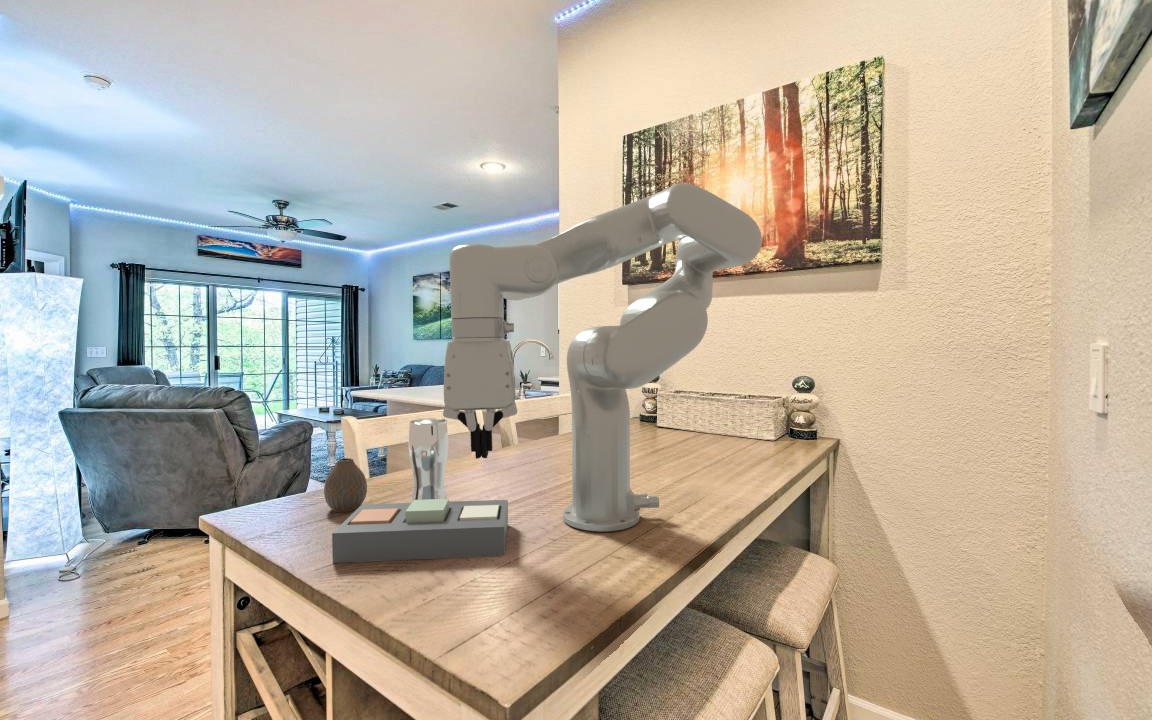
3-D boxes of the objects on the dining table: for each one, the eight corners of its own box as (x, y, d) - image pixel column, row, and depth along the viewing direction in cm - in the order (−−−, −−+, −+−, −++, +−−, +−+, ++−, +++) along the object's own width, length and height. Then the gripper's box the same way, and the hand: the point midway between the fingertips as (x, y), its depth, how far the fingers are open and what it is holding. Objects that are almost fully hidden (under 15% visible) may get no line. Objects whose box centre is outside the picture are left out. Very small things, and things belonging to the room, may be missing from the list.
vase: (351, 516, 86) (350, 464, 85) (315, 513, 87) (314, 463, 87) (375, 503, 92) (374, 455, 92) (341, 501, 94) (340, 454, 94)
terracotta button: (398, 534, 77) (398, 508, 76) (389, 548, 71) (388, 520, 71) (363, 535, 76) (362, 509, 76) (351, 550, 71) (350, 521, 71)
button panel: (507, 524, 81) (507, 499, 81) (504, 555, 70) (504, 526, 69) (362, 529, 79) (361, 504, 79) (332, 563, 67) (332, 533, 67)
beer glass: (421, 495, 97) (420, 417, 97) (455, 497, 96) (454, 418, 95) (401, 507, 90) (400, 423, 90) (438, 509, 89) (436, 424, 88)
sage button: (449, 524, 77) (448, 498, 77) (443, 537, 72) (443, 509, 72) (414, 526, 77) (413, 499, 77) (405, 539, 72) (405, 511, 71)
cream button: (499, 530, 78) (498, 504, 78) (497, 544, 73) (496, 516, 73) (464, 532, 78) (464, 506, 77) (460, 545, 72) (459, 517, 72)
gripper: (529, 331, 79) (532, 448, 79) (430, 333, 77) (435, 452, 78) (529, 330, 71) (533, 460, 72) (420, 332, 70) (425, 465, 70)
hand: (482, 456), depth 75 cm, fingers closed
